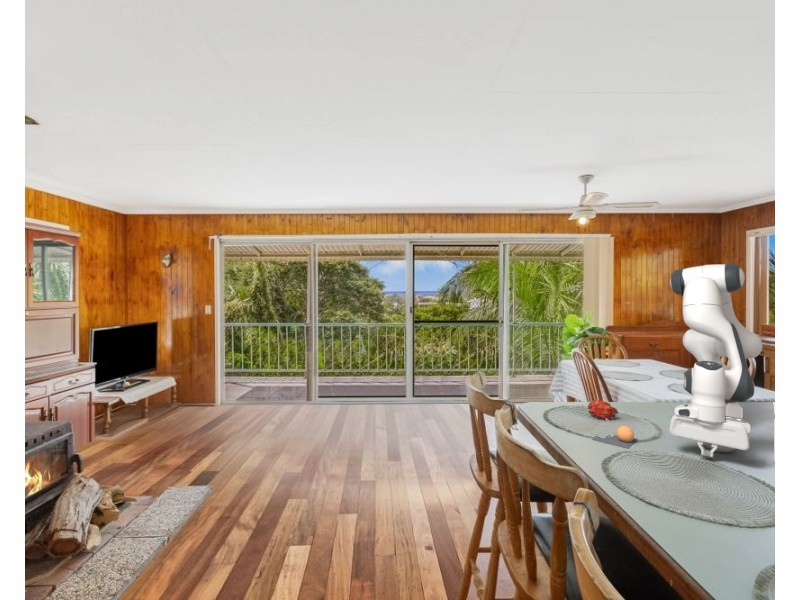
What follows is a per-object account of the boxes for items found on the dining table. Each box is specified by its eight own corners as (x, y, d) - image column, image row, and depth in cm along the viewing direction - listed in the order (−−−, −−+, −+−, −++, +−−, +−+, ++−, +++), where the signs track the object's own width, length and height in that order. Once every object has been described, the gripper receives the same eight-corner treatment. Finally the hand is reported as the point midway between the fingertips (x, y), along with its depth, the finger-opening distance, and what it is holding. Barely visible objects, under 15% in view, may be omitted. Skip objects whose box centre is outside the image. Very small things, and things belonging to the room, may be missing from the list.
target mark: (602, 431, 155) (602, 430, 155) (637, 439, 147) (637, 438, 147) (591, 439, 146) (591, 439, 146) (628, 448, 138) (628, 447, 138)
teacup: (728, 458, 131) (729, 433, 130) (691, 446, 140) (692, 423, 140) (749, 450, 137) (749, 427, 137) (712, 439, 147) (713, 418, 146)
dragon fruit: (585, 418, 176) (615, 427, 169) (584, 411, 169) (615, 420, 163) (590, 401, 179) (620, 409, 172) (589, 393, 173) (620, 401, 166)
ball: (637, 428, 144) (632, 442, 145) (620, 421, 148) (616, 435, 149) (634, 432, 140) (629, 446, 141) (617, 425, 143) (612, 439, 144)
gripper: (751, 417, 123) (750, 462, 123) (672, 404, 137) (671, 444, 137) (750, 422, 119) (749, 468, 119) (668, 408, 133) (668, 449, 133)
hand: (707, 455), depth 128 cm, fingers closed
